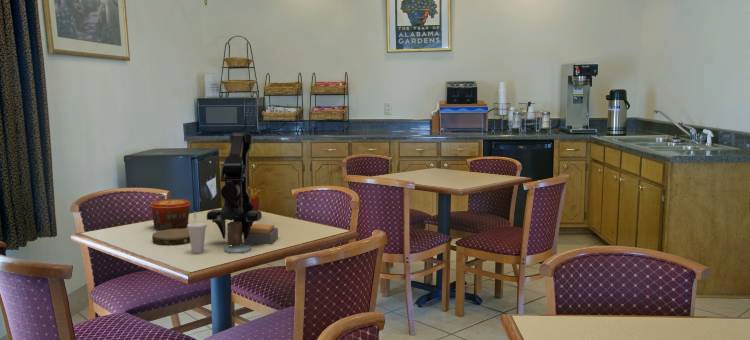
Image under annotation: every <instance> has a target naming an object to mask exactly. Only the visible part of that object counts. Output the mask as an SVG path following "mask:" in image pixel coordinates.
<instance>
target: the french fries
mask: <svg viewBox="0 0 750 340" xmlns="http://www.w3.org/2000/svg"><path fill="white" fill-rule="evenodd" d="M250 191H251V192H250ZM260 192H261V190H260V189H257V188H254V189H253V188H251V187H250V186H247V193H248V194H249V196H250V198H251V202H252V204H253V205H254V211H259V204H260V203H259V202H260V197H259V196H258V195H260V194H259V193H260ZM250 193H251V194H250Z"/></svg>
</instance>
